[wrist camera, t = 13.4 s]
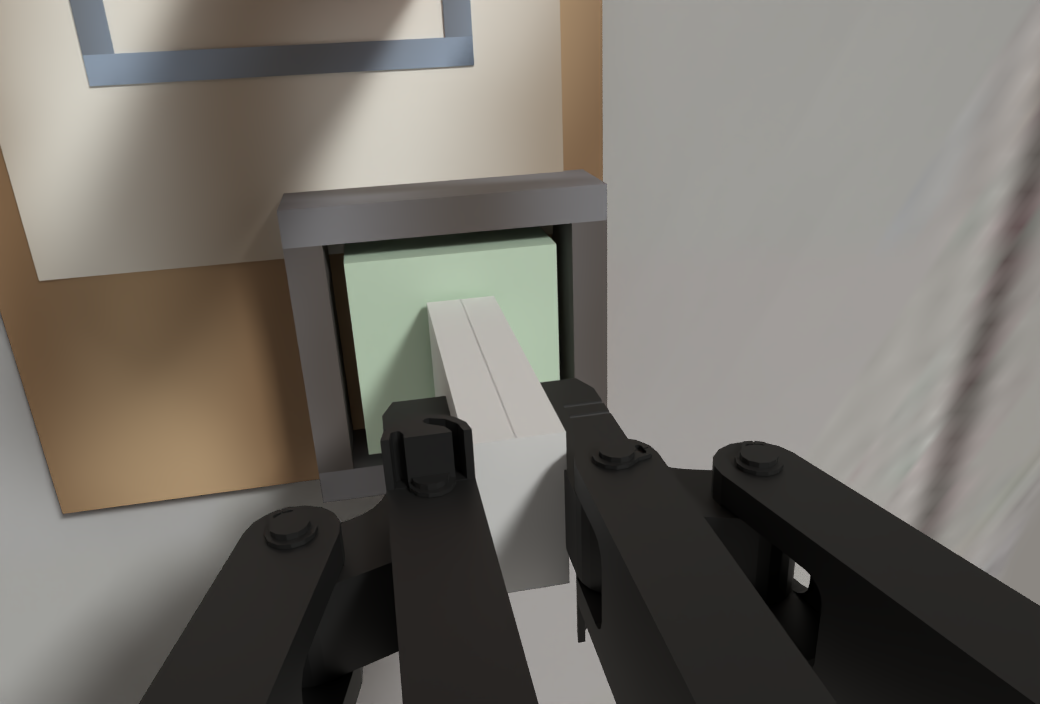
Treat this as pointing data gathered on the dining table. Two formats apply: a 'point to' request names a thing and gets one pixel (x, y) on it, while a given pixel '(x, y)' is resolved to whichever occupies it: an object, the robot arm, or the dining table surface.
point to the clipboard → (267, 215)
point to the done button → (440, 277)
